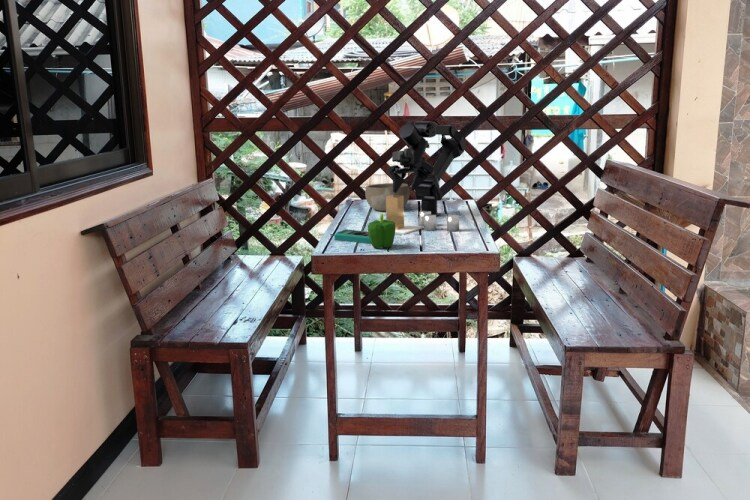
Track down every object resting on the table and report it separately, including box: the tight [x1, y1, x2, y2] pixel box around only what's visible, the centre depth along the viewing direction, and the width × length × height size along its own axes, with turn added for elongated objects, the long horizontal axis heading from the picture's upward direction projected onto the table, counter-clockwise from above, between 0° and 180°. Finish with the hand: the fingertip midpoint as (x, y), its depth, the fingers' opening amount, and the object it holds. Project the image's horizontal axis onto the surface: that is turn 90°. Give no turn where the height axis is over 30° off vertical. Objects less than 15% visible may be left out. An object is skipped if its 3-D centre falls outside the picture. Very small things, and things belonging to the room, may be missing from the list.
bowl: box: [364, 182, 410, 212], centre depth 260 cm, size 17×18×10 cm
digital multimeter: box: [333, 229, 372, 245], centre depth 208 cm, size 7×15×3 cm, turn 60°
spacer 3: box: [446, 214, 460, 233], centre depth 217 cm, size 4×4×5 cm
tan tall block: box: [385, 195, 405, 230], centre depth 221 cm, size 4×4×11 cm
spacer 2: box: [423, 214, 437, 232], centre depth 220 cm, size 4×4×5 cm
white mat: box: [395, 223, 424, 235], centre depth 223 cm, size 12×14×1 cm
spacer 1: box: [418, 210, 431, 226], centre depth 227 cm, size 4×4×5 cm
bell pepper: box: [367, 213, 396, 249], centre depth 197 cm, size 8×8×10 cm
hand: (403, 191), depth 228 cm, fingers open, 9 cm apart
